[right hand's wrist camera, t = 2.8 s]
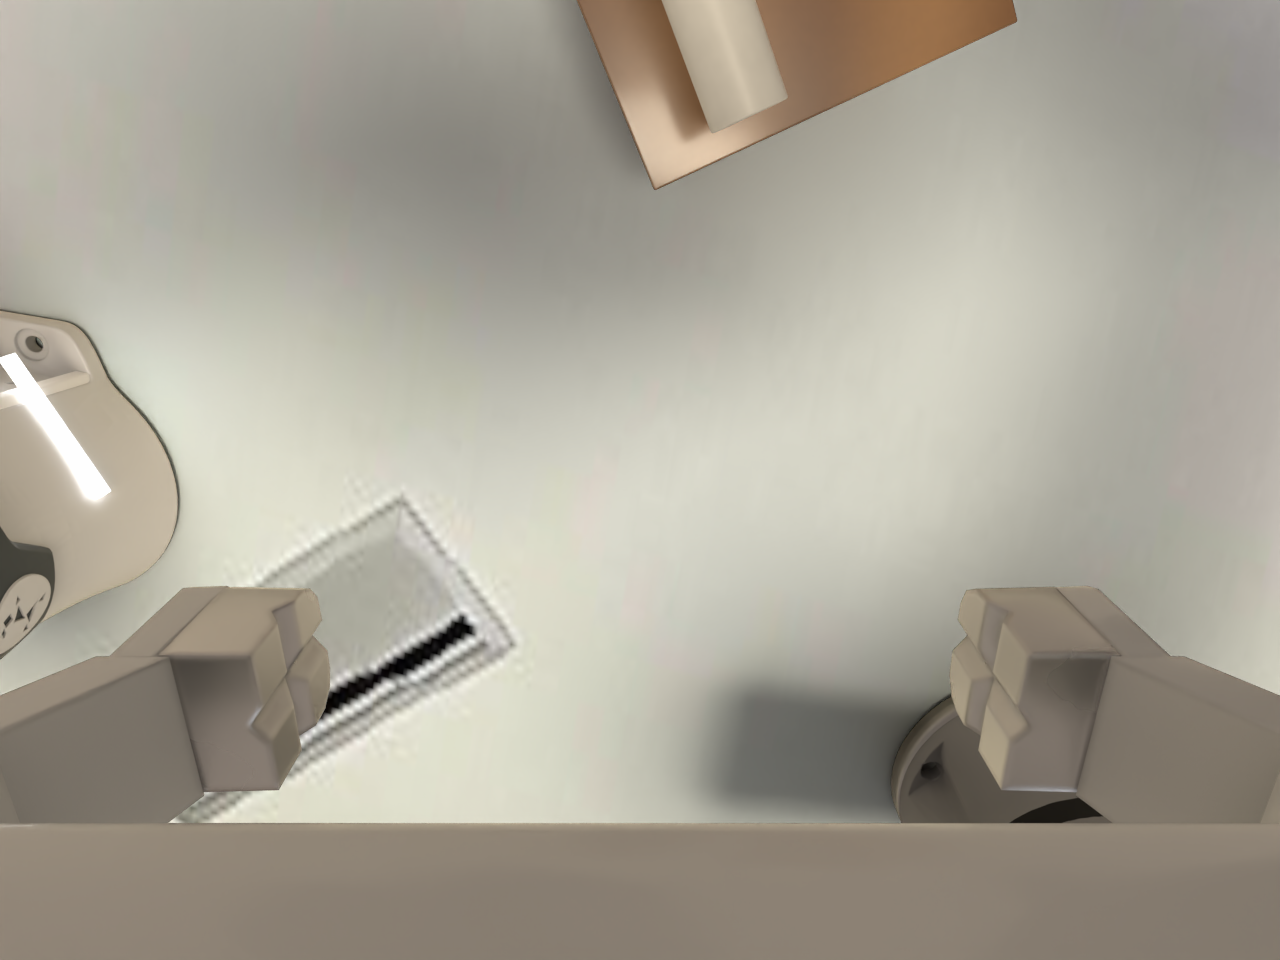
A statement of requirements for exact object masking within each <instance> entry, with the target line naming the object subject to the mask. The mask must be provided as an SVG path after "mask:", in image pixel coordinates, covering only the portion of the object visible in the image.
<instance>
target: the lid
mask: <svg viewBox="0 0 1280 960" xmlns="http://www.w3.org/2000/svg"><path fill="white" fill-rule="evenodd" d="M577 2H578V5H579V7H580V10H581V12H582V15H583V17H584V20H585V22H586V24H587V27H588V29H589V32H590V34H591V37H592V39H593V42H594V44H595V47H596V49H597V51H598V54H599V56H600V59H601V61H602V64H603V66H604V69H605V71H606V74H607V76H608V78H609V81H610V83H611V86H612V88H613V91H614V93H615V96H616V98H617V101H618V103H619V105H620V108H621V110H622V113H623V115H624V118H625V120H626V123H627V125H628V127H629V130H630V132H631V135H632V137H633V140H634V142H635V145H636V147H637V150H638V152H639V154H640V157H641V159H642V162H643V164H644V167H645V169H646V172H647V174H648V177H649V179H650V181H651V184H652V186H653V188H654V190H657V189H659V188H661V187H663V186H665V185H668V184H670V183H672V182H674V181H676V180H678V179H680V178H683V177H685V176H687V175H689V174H691V173H693V172H696V171H698V170H700V169H702V168H704V167H706V166H708V165H711V164H713V163H715V162H717V161H719V160H721V159H723V158H726V157H728V156H730V155H732V154H734V153H736V152H739V151H741V150H743V149H745V148H747V147H749V146H751V145H754V144H756V143H758V142H760V141H762V140H764V139H766V138H769V137H771V136H773V135H775V134H777V133H779V132H781V131H784V130H786V129H788V128H790V127H792V126H794V125H797V124H799V123H801V122H803V121H805V120H807V119H809V118H812V117H814V116H816V115H818V114H820V113H822V112H824V111H827V110H829V109H831V108H833V107H835V106H837V105H839V104H842V103H844V102H846V101H848V100H850V99H852V98H855V97H857V96H859V95H861V94H863V93H865V92H867V91H870V90H872V89H874V88H876V87H878V86H880V85H882V84H885V83H887V82H889V81H891V80H893V79H895V78H898V77H900V76H902V75H904V74H906V73H908V72H910V71H913V70H915V69H917V68H919V67H921V66H923V65H925V64H928V63H930V62H932V61H934V60H936V59H938V58H940V57H943V56H945V55H947V54H949V53H951V52H953V51H956V50H958V49H960V48H962V47H964V46H966V45H968V44H971V43H973V42H975V41H977V40H979V39H981V38H983V37H986V36H988V35H990V34H992V33H994V32H996V31H998V30H1001V29H1003V28H1005V27H1007V26H1009V25H1011V24H1014V23H1016V22H1017V17H1016V13H1015V9H1014V5H1013V0H577Z"/></svg>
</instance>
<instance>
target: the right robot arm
mask: <svg viewBox="0 0 1280 960" xmlns="http://www.w3.org/2000/svg"><path fill="white" fill-rule="evenodd" d="M35 336H36V337H38V338H39V339H40V340H41V342H42V344H43V348H40V347H39V346H38V345H37V344H36V342H35ZM177 510H178V497H177V488H176V482H175V478H174V474H173V470H172V467H171V464H170V462H169V459H168V457H167V454H166V452H165V450H164V448H163V446H162V444H161V443H160V441H159V439H158V438H157V436H156V434H155V433H154V431H153V430H152V428H151V427H150V426H149V424H148V423H147V422H146V420H145V419H144V418H143V417H142V416H141V414H140V413H139V412H138V411H137V410H136V409H135V408H134V407H133V406H132V405H131V404H130V403H129V402H128V401H127V400H126V399H125V398H124V397H123V396H122V395H121V394H120V393H119V391H118V390H117V389H116V388H115V387H114V386H113V384H112V383H111V382H110V380H109V379H108V377H107V375H106V373H105V371H104V368H103V366H102V364H101V362H100V360H99V358H98V355H97V353H96V351H95V350H94V348H93V346H92V344H91V342H90V341H89V339H88V338H87V336H86V335H85V334H84V333H83V332H82V331H81V330H80V329H79V328H78V327H76V326H75V325H73V324H70V323H68V322H64V321H59V320H53V319H47V318H41V317H35V316H29V315H24V314H18V313H12V312H6V311H0V659H2V658H3V657H4V656H5V655H6V654H7V653H9V652H10V651H11V650H12V649H13V648H14V647H15V646H16V645H18V644H19V643H20V642H21V641H22V640H23V639H24V638H25V637H26V636H27V635H28V634H29V633H30V632H31V631H32V630H33V629H34V628H35V627H36V626H37V625H38V624H39V623H41V622H43V621H45V620H47V619H48V618H50V617H52V616H54V615H56V614H57V613H59V612H61V611H63V610H65V609H67V608H69V607H71V606H73V605H75V604H77V603H79V602H81V601H83V600H85V599H88V598H90V597H92V596H94V595H97V594H99V593H102V592H104V591H107V590H110V589H112V588H115V587H118V586H121V585H123V584H126V583H128V582H130V581H132V580H134V579H136V578H137V577H139V576H140V575H142V574H143V573H145V572H146V571H147V570H148V569H150V568H151V567H152V566H153V565H154V564H155V563H156V562H157V560H158V559H159V558H160V557H161V555H162V554H163V553H164V551H165V549H166V548H167V546H168V544H169V542H170V540H171V537H172V535H173V532H174V528H175V524H176V519H177ZM321 621H322V616H321V611H320V607H319V602H318V597H317V596H316V595H315V593H314V592H313V591H312V590H311V589H310V588H263V587H228V586H211V587H189V588H183V589H181V590H180V591H179V592H178V593H177V594H176V595H175V596H174V597H173V598H172V599H171V600H170V601H169V602H167V603H166V604H165V605H164V606H163V607H162V608H161V609H160V610H159V611H158V612H157V613H156V614H154V615H153V616H152V617H151V618H150V619H149V620H148V621H147V622H146V623H145V624H144V625H143V626H142V627H140V628H139V629H138V630H137V631H136V632H135V633H134V634H133V635H132V636H131V637H130V638H129V639H128V640H126V641H125V642H124V643H123V644H122V645H121V646H120V647H119V648H118V649H117V650H116V651H115V652H113V653H112V654H111V655H110V656H96V657H93V658H91V659H88V660H86V661H84V662H81V663H79V664H76V665H74V666H71V667H69V668H66V669H64V670H62V671H59V672H57V673H54V674H52V675H49V676H47V677H44V678H42V679H40V680H37V681H35V682H32V683H30V684H27V685H25V686H22V687H20V688H18V689H15V690H13V691H10V692H8V693H5V694H3V695H0V960H1280V696H1279V695H1277V694H1274V693H1272V692H1270V691H1267V690H1265V689H1262V688H1260V687H1257V686H1255V685H1253V684H1250V683H1248V682H1245V681H1243V680H1240V679H1238V678H1235V677H1233V676H1231V675H1228V674H1226V673H1223V672H1221V671H1218V670H1216V669H1213V668H1211V667H1209V666H1206V665H1204V664H1201V663H1199V662H1196V661H1194V660H1192V659H1189V658H1187V657H1184V656H1170V655H1169V654H1168V653H1167V652H1165V651H1164V650H1163V649H1162V648H1161V647H1160V646H1159V645H1158V644H1157V643H1156V642H1155V641H1154V640H1153V639H1152V638H1150V637H1149V636H1148V635H1147V634H1146V633H1145V632H1144V631H1143V630H1142V629H1141V628H1140V627H1139V626H1138V625H1136V624H1135V623H1134V622H1133V621H1132V620H1131V619H1130V618H1129V617H1128V616H1127V615H1126V614H1125V613H1124V612H1122V611H1121V610H1120V609H1119V608H1118V607H1117V606H1116V605H1115V604H1114V603H1113V602H1112V601H1111V600H1110V599H1109V598H1107V597H1106V596H1105V595H1104V594H1103V593H1102V592H1101V591H1100V590H1099V589H1096V588H1093V587H1090V586H1074V587H1027V588H985V589H971V590H966V592H965V595H964V597H963V599H962V601H961V605H960V610H959V616H958V621H959V623H960V624H961V626H962V627H963V629H964V630H965V632H966V634H967V636H966V637H965V638H964V639H963V640H962V641H961V642H960V643H959V644H958V646H957V647H956V648H955V649H954V650H953V651H952V659H951V666H950V685H951V696H952V699H953V702H954V705H955V709H956V711H957V713H958V715H959V717H960V719H961V721H962V722H963V724H964V725H965V726H966V727H968V728H969V729H971V730H973V731H974V732H976V733H977V734H979V735H981V738H980V743H979V749H978V751H979V752H980V754H981V756H982V758H983V759H984V761H985V763H986V764H987V766H988V768H989V770H990V771H991V773H992V775H993V776H994V778H995V780H996V782H997V783H998V785H999V787H1000V788H1001V790H1018V791H1055V792H1076V796H1077V797H1079V798H1080V799H1081V800H1083V801H1084V802H1085V803H1087V804H1088V805H1089V806H1091V807H1092V808H1093V809H1095V810H1096V811H1097V812H1099V813H1100V814H1101V815H1103V816H1104V817H1105V818H1107V819H1108V820H1109V821H1111V822H1112V823H168V822H170V821H171V820H172V819H174V818H175V817H176V816H178V815H179V814H180V813H182V812H183V811H184V810H186V809H187V808H188V807H190V806H191V805H192V804H194V803H195V802H196V801H198V800H199V799H200V798H202V797H203V796H204V793H203V792H224V791H260V790H279V789H280V787H281V785H282V783H283V782H284V780H285V778H286V777H287V775H288V773H289V771H290V770H291V768H292V766H293V764H294V763H295V761H296V759H297V758H298V756H299V754H300V752H301V751H302V749H301V743H300V738H299V735H301V734H303V733H304V732H306V731H307V730H309V729H311V728H312V727H314V726H315V725H316V724H317V722H318V721H319V719H320V717H321V715H322V713H323V711H324V709H325V706H326V701H327V697H328V693H329V689H330V664H329V657H328V651H327V650H326V649H325V648H324V647H323V646H322V644H321V643H320V642H319V641H318V640H317V639H316V638H315V637H314V636H313V634H314V632H315V630H316V629H317V627H318V626H319V624H320V623H321Z"/></svg>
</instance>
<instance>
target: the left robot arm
mask: <svg viewBox="0 0 1280 960" xmlns="http://www.w3.org/2000/svg"><path fill="white" fill-rule="evenodd" d="M980 738H981V735H979V734H977V733H976V732H974V731H973V730H971V729H969V728H968V727H966V726H965V725H964V724H963V722H962V721H961V719H960V717H959V715H958V713H957V711H956V709H955V705H954V702H953V699H952V696H951V697H950V698H948V699H946V700H945V701H943V702H942V703H940V704H939V705H937V706H936V707H934V708H933V709H932V710H931V711H930V712H928V713H927V714H926V715H925V716H924V717H923V718H922V719H921V720H920V721H919V722H918V723H917V724H916V725H915V726H914V728H913V729H912V730H911V731H910V733H909V734H908V735H907V737H906V738H905V740H904V742H903V743H902V745H901V747H900V749H899V751H898V754H897V756H896V758H895V762H894V765H893V770H892V775H891V792H892V798H893V802H894V805H895V808H896V811H897V813H898V816H899V818H900V820H901V823H1112V822H1111V821H1109V820H1108V819H1107V818H1105V817H1104V816H1103V815H1101V814H1100V813H1099V812H1097V811H1096V810H1095V809H1093V808H1092V807H1091V806H1089V805H1088V804H1087V803H1085V802H1084V801H1083V800H1081V799H1080V798H1079V797H1077V796H1076V792H1055V791H1018V790H1001V788H1000V787H999V785H998V783H997V782H996V780H995V778H994V776H993V775H992V773H991V771H990V770H989V768H988V766H987V764H986V763H985V761H984V759H983V758H982V756H981V754H980V752H979V751H978V749H979V743H980Z"/></svg>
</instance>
